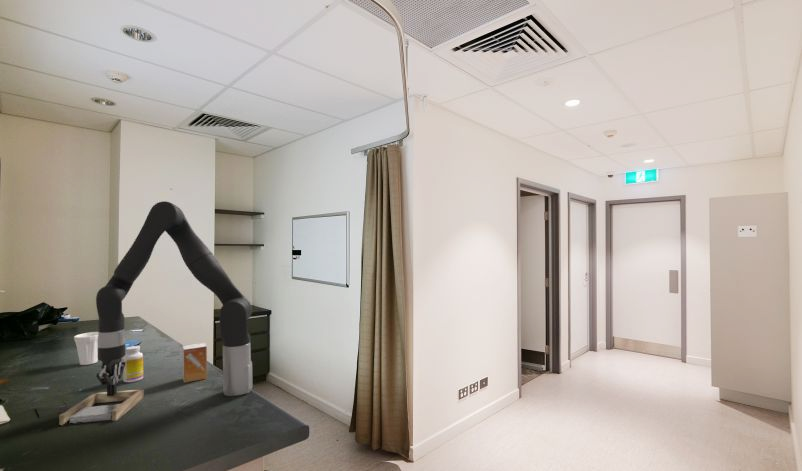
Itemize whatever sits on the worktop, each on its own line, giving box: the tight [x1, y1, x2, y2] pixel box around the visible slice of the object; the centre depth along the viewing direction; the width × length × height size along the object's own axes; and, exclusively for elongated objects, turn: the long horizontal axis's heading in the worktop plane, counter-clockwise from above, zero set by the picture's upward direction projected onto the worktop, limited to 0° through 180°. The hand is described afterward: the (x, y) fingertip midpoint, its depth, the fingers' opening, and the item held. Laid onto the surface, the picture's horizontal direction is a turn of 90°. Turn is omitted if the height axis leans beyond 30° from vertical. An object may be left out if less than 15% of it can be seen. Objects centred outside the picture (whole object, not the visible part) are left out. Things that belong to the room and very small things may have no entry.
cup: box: [73, 331, 99, 366], centre depth 174 cm, size 10×10×13 cm
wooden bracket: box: [58, 388, 145, 426], centre depth 125 cm, size 15×17×3 cm
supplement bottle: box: [122, 345, 144, 383], centre depth 152 cm, size 7×7×13 cm
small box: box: [182, 342, 208, 384], centre depth 152 cm, size 8×6×13 cm
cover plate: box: [69, 403, 121, 424], centre depth 121 cm, size 11×7×2 cm, turn 102°
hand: (111, 395), depth 130 cm, fingers closed
